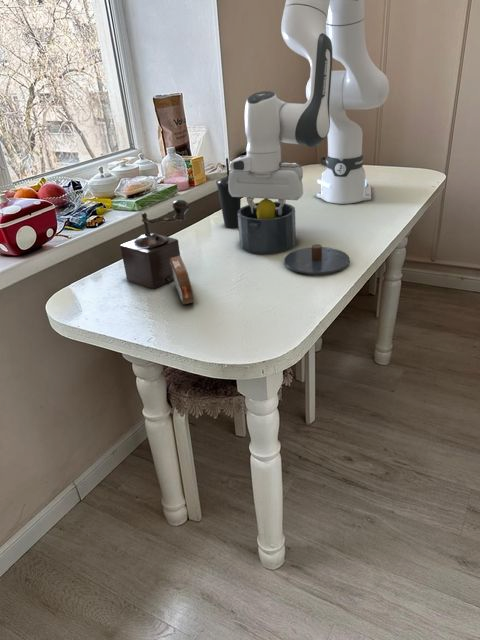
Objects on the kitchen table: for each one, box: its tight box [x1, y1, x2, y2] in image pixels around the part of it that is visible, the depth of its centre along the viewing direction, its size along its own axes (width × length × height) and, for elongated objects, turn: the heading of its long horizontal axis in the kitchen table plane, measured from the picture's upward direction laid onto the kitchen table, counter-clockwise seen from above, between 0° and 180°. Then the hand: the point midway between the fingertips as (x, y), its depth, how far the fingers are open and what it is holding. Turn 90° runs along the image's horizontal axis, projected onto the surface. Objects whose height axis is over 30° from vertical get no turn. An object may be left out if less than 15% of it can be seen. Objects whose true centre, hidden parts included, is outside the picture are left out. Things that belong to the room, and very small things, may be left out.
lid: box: [284, 243, 351, 275], centre depth 136 cm, size 17×17×5 cm
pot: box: [238, 200, 297, 255], centre depth 148 cm, size 16×21×10 cm
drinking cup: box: [215, 157, 242, 229], centre depth 160 cm, size 8×8×20 cm
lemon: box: [257, 198, 277, 219], centre depth 146 cm, size 6×6×8 cm
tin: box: [170, 254, 195, 305], centre depth 123 cm, size 15×3×8 cm, turn 17°
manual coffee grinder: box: [120, 199, 190, 290], centre depth 132 cm, size 16×11×18 cm
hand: (266, 213), depth 146 cm, fingers closed on lemon, 5 cm apart
